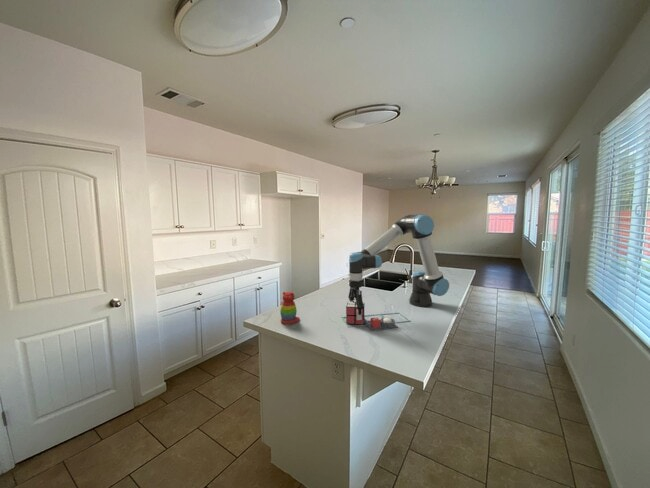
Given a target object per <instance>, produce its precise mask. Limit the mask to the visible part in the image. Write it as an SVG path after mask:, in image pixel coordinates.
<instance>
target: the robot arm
mask: <svg viewBox="0 0 650 488" xmlns="http://www.w3.org/2000/svg"><path fill="white" fill-rule="evenodd" d="M434 228H435V223H434V220H433V218H432V217H431V216H429V215H427V214H423V213H422V214H408V215H405V216H403V217H401V218H400V219H397V220H396V221H395V222H394V223H393V224H391V228H389V229H388V230H386V231H385V232H384V233H382V234H381V235H380V236H379V237H378V238H376V239H375V240H374V241H373V242H371V243H370V244H368V246H366V247H365V248H364V249H362V250H360V251H357V252H351V253H350V254H349V259H348V264H349V267H348V269H349V271H348V273H349V274H348V278H349V280H348V282H349V283H348V285H349V292H348V300H349V302H356V303H357V308H356V309H357V320H362V309H363V302H364V301H363V293H362V292H363V291H362V290H360V288H362V287H363V270H366V269H367V270H368V269H369V270H370V269H371V270H372V269H379V268H381V267H382V265H383V260H382V257H381V256H380V255H378V254H380V252H381V251H383V250H384V249H385V248H386V247H388V246H389V245H390V244H391V243H393V242H394V241H396V240H397V238H399V237H404V235H406V234H411V236H412V240H415V241H416V245H417V247H418V252H419V255H420V259H421V263H422V268H423V270H417V271H413V273H412V286H411V287H412V288H411V289H412V290H411V295H410V296H409V299H408V300H409V301H408V303H409V304H410V305H411V306H415V307H420V308H423V307H424V308H428V307H431V306H432V305H433V300H432V296H431V294H432V295H434V296H437V297H442V296H444V295H446V294H447V293H448V291H449V289H450V282H449V280H448V279H446V278H444V273H443V272H442V271H440V270H439V269H440V268H439V265H438V261H437V257H436V254H435V250H434V249H435V248H434V245H433V242H432V237H431V236H432V235H433V231H434ZM360 306H361V307H360Z"/></svg>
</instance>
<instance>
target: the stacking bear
mask: <svg viewBox="0 0 650 488" xmlns="http://www.w3.org/2000/svg"><path fill="white" fill-rule="evenodd" d="M282 300H283V301H282V302H281V306H280V309H279V310H280V311H279V313H280V323H281V324H282V325H288V326H289V325H294V324H297V323H298V322H300V320H301V318H300V317H299V316H297V312H298V311H297V310H298V309H297V305H296V302H295V301H294V300H295V294H294V292H291V291H286V292H285V291H283V292H282Z"/></svg>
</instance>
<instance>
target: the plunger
mask: <svg viewBox="0 0 650 488" xmlns="http://www.w3.org/2000/svg"><path fill="white" fill-rule="evenodd" d="M391 318H392V317H385V318H384V319H383V322H387V323H389V322H392V319H393V318H392V319H391Z"/></svg>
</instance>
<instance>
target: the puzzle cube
mask: <svg viewBox="0 0 650 488" xmlns="http://www.w3.org/2000/svg"><path fill="white" fill-rule="evenodd" d="M345 307H346V309H345V310H346V311H345V313H346V314H345V317H346V318H345V319H346V320H345V322H346V323H347V325H365V320H364V319H365V316H364V315H365V302H364V301H363V309H362V320H357V309H356V308H357V303H356V301H354V302H350V301H347V304H346V306H345ZM360 307H361V306H360Z"/></svg>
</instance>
